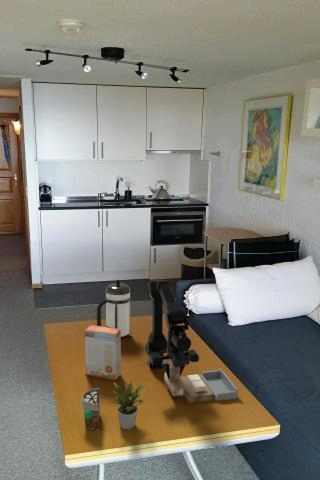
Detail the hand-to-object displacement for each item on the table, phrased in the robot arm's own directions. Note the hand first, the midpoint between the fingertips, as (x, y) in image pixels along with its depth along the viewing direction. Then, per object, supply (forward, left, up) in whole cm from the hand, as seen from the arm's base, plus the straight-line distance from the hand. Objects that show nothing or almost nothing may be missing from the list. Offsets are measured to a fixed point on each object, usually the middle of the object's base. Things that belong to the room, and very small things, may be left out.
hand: (173, 377), depth 180 cm
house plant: (-21, -18, -7) cm, 29 cm away
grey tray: (+19, 0, -7) cm, 20 cm away
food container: (-34, -12, -7) cm, 37 cm away
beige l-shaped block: (0, 0, -4) cm, 4 cm away
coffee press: (-13, +60, -7) cm, 62 cm away
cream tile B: (+10, +3, -4) cm, 11 cm away
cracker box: (-25, +21, -7) cm, 33 cm away
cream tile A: (+10, -3, -4) cm, 11 cm away
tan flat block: (+9, 0, -7) cm, 11 cm away
